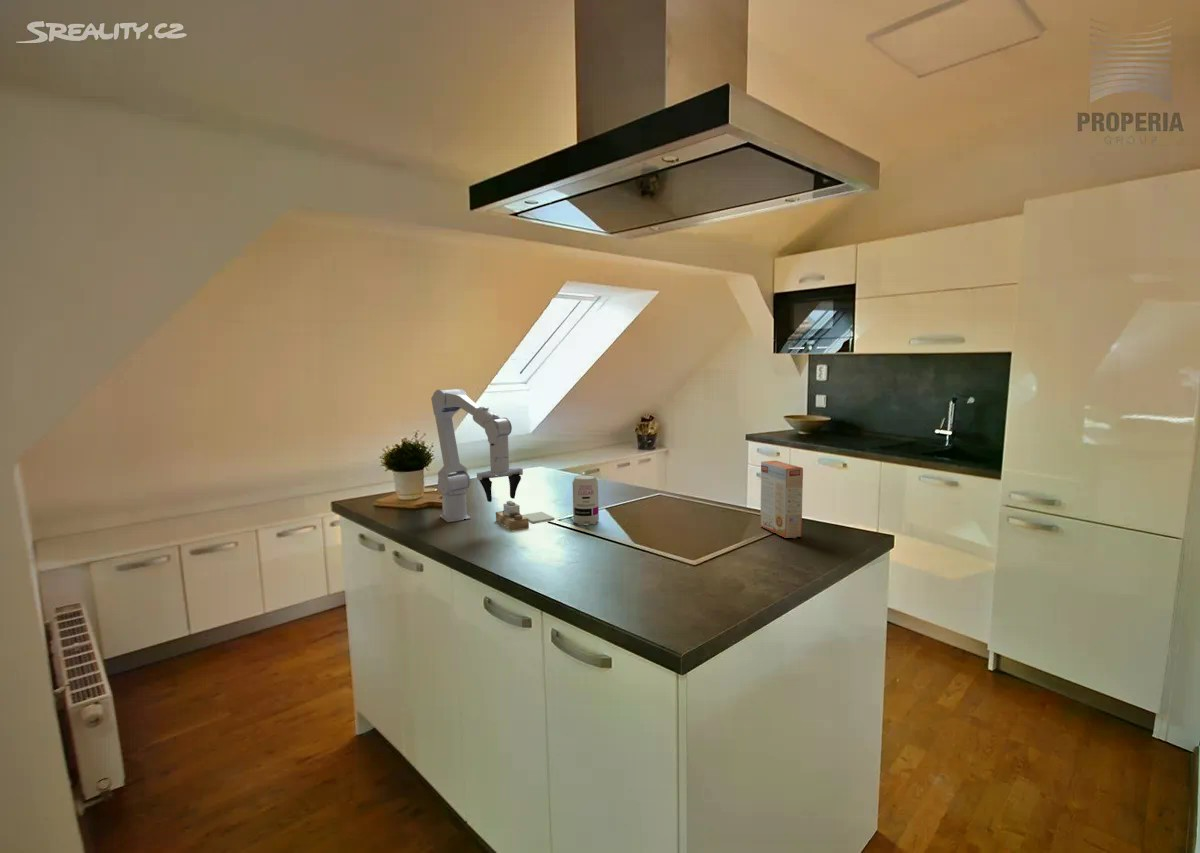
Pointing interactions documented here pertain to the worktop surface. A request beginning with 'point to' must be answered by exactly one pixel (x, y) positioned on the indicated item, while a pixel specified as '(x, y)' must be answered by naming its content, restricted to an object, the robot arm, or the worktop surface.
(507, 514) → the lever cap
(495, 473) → the robot arm
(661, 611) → the worktop surface
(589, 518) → the supplement can
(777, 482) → the cracker box
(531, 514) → the rubber mat
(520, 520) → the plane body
